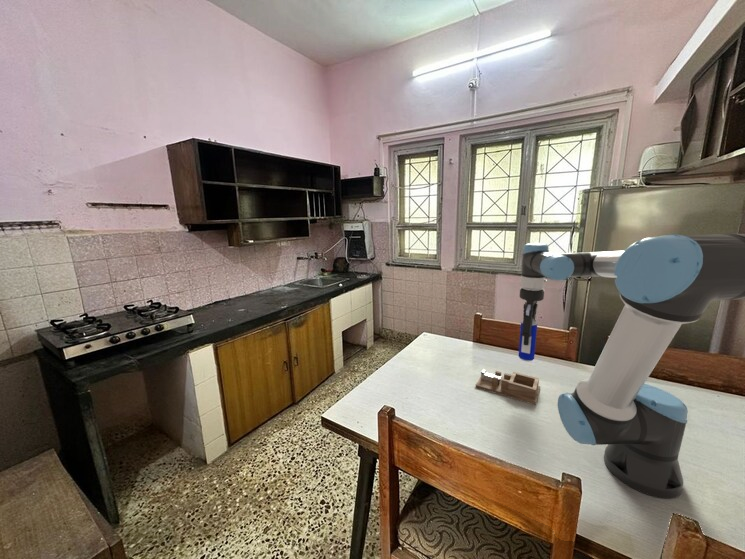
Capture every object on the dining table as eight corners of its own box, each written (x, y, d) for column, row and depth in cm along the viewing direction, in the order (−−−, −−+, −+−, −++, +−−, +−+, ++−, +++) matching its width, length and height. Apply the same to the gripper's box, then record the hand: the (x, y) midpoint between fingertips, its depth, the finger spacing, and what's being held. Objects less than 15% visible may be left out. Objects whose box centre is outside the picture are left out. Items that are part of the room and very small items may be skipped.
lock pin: (499, 384, 115) (499, 377, 115) (480, 379, 119) (481, 372, 119) (500, 381, 118) (501, 373, 117) (482, 376, 122) (483, 369, 121)
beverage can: (530, 355, 111) (533, 317, 108) (536, 362, 106) (540, 322, 103) (516, 355, 112) (519, 317, 108) (521, 361, 107) (524, 322, 103)
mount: (535, 405, 104) (536, 392, 103) (475, 387, 116) (476, 375, 115) (539, 388, 114) (541, 376, 113) (483, 373, 126) (484, 362, 125)
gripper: (541, 295, 94) (534, 362, 99) (547, 283, 108) (541, 342, 113) (515, 292, 98) (510, 356, 103) (524, 281, 112) (520, 338, 117)
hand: (526, 349), depth 108 cm, fingers closed on beverage can, 5 cm apart
